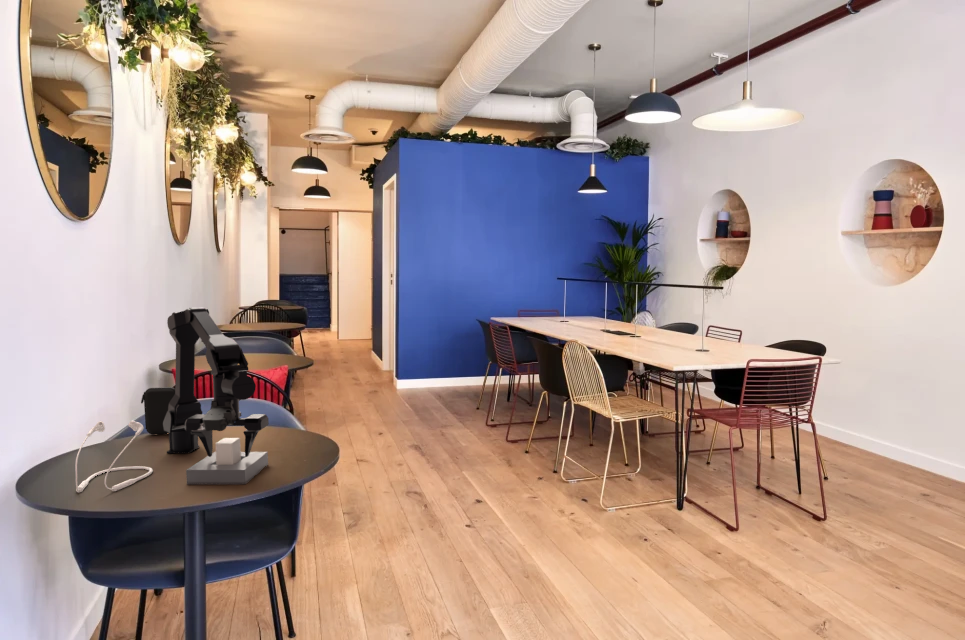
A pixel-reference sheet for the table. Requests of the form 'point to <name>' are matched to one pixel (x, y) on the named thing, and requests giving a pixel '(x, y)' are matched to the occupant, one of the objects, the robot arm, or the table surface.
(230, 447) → the plug
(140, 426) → the earphone
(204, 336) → the robot arm
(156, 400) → the carrying case or bag
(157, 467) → the table surface
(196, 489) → the table surface
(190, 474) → the socket block
